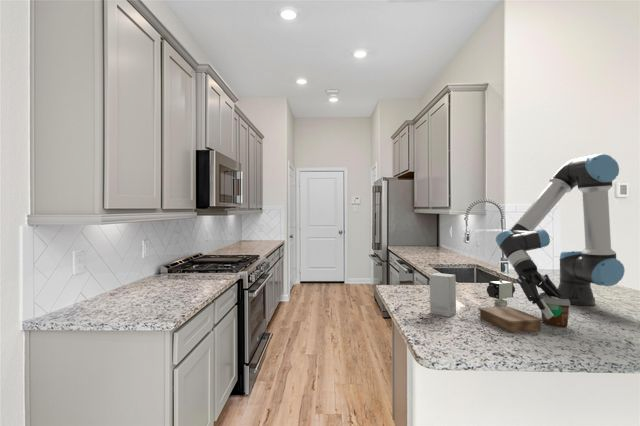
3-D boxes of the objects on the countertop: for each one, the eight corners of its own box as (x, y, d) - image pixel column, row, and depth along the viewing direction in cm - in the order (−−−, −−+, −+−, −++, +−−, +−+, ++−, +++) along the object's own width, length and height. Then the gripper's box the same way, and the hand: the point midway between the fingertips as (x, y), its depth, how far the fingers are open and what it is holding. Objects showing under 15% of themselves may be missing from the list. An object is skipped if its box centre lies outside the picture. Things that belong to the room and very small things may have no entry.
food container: (530, 318, 139) (530, 292, 139) (545, 317, 140) (545, 291, 140) (554, 329, 127) (553, 300, 127) (570, 328, 128) (570, 299, 127)
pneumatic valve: (515, 308, 154) (515, 279, 154) (495, 310, 149) (495, 281, 149) (503, 304, 159) (504, 277, 159) (484, 307, 154) (484, 279, 154)
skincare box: (456, 314, 144) (457, 274, 143) (449, 317, 139) (449, 276, 139) (436, 310, 149) (436, 272, 149) (428, 313, 144) (429, 274, 144)
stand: (508, 316, 141) (508, 306, 141) (543, 331, 124) (543, 319, 124) (478, 318, 139) (478, 307, 139) (509, 333, 122) (509, 321, 122)
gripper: (536, 269, 151) (573, 320, 135) (497, 270, 145) (530, 323, 130) (548, 257, 146) (587, 309, 130) (507, 259, 140) (543, 313, 125)
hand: (558, 316), depth 130 cm, fingers closed on food container, 7 cm apart
